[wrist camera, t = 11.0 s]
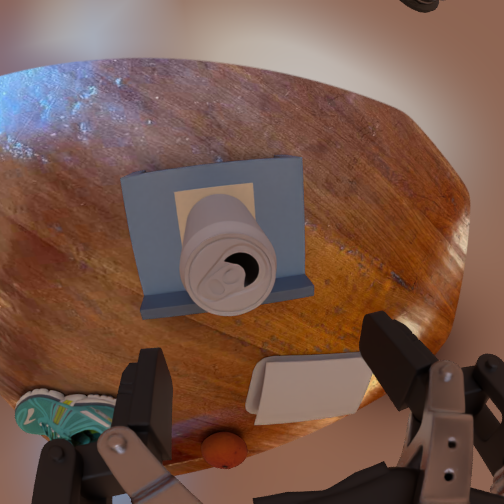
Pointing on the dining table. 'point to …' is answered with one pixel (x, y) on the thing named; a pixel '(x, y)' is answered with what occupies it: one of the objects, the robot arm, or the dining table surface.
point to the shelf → (180, 204)
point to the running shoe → (65, 415)
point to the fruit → (224, 450)
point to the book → (307, 387)
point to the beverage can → (226, 257)
